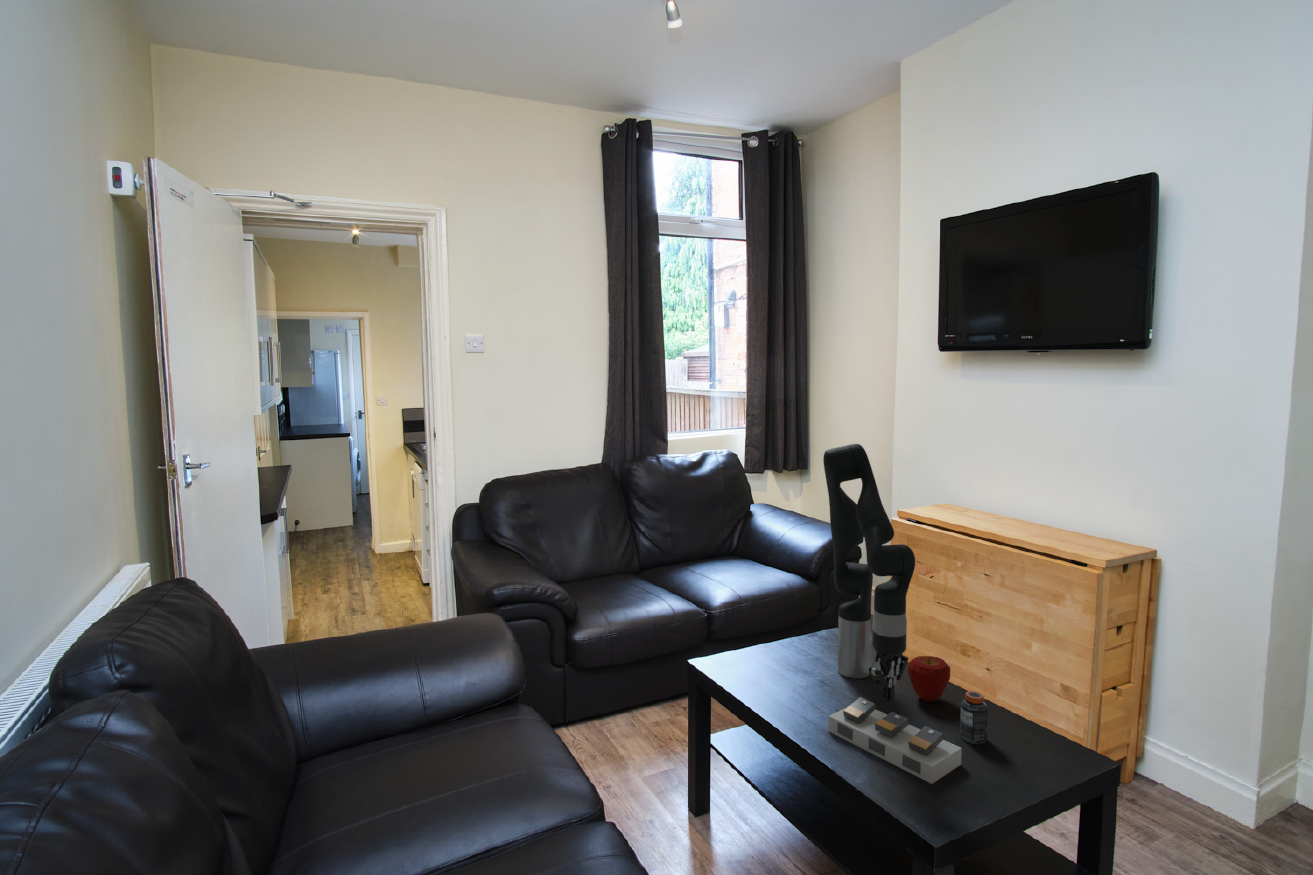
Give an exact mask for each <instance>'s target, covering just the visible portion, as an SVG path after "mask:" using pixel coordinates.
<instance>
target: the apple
mask: <svg viewBox="0 0 1313 875" xmlns="http://www.w3.org/2000/svg"><path fill="white" fill-rule="evenodd" d="M907 665H908V667H907V675H908V677H909V679H910V683H911V686H912V687H913V690H914V692H915V694H916V695H917V696H918V697H919V698H920V699H921V700H923V701H924V702H927V703H934V702H936V701H937V700H940V698H941V697H942V696H943V694H944V692H945V690H946V688H947V686H948V683H949V681H950V679H951V667H950V665H949V664H948V663H947V662H946V660H944V659H942V658H940V657H939V656H931V655H920V656H916V657H913V658H912V659H911V660H910V661H909V662H908V664H907Z"/></svg>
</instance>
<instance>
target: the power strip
mask: <svg viewBox="0 0 1313 875" xmlns="http://www.w3.org/2000/svg"><path fill="white" fill-rule="evenodd" d="M846 708H847V707H844V708H842V709H841V710H839V709H837V710H836V711H835V712H834V713H832V714H830V715H828V732H829V733H831V734H833V735H835V736H836V737H838V738H841V739H842V740H845V741H847V742H849V743H851V744H853V745H855V746H856V747H858V748H861V749H862V750H864V751H866V752H868V753H871V754H872V755H874V756H876V757H878V758H880V759H882V760H884V761H886V762H888V763H890V764H892V765H894V766H896V767H898V768H899V769H902V770H904V771H905V772H908V773H910V774H911V775H913V776H915V777H917V778H919V779H921V780H924V781H925V782H927V783H929V784H931V785H933V784H934V783H936V782H937V781H940V779H942V778H943V777H945V776H946V775H948V774H949V773H951V772H952V771H954V770H955V769H956V768H958V767H960V766H962V747H961V746H958V745H955V744H953V743H951V742H949V741H948V740H943V741H942V742H941V743H940V744H939V745H938V746H937V747H936V748H935V749H934V750H933V751H932V752H931V753H930V754H929V755H928V756H925V755H923V754H921V753H919V752H917V751H914V750H912V749H910V748H909V744H908V742H909V740H910V739H912V738H913V737H914V736H915V735H916V734H917V733H918V732H919V731H920V730H921V729H920V728H918V727H916V726H914V725H911V724H909V725H908V726H907V727H905V728H904V729H902V730H901V731H900V732H898V733H897V734H896V735H894V736H893V737H892V738H891V737H889V736H887V735H885V734H883V733H881V732H878V731H876V730H875V723H876V722H878V721H879V720H880V719H882V718H884V717H885V716H887V715H888V713H885V712H882V711H880V710H878V709H875V710H874V711H873V712H872V713H871V714H870V715H869V716H867V717H866V718H865V719H864V720H863V721H862V722H860V723H859V724H858V723H856V722H854V721H852V720H850V719H847V718H845V717H844V714H843V711H844V710H845V709H846Z"/></svg>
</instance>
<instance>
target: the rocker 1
mask: <svg viewBox="0 0 1313 875" xmlns="http://www.w3.org/2000/svg"><path fill="white" fill-rule="evenodd" d="M845 708H846V709H845V710H844V711H843V714H844V717H845V718H847V719H850V720H852V721H854V722H856V723H858V724H859V723H860V722H862V721H863V720H864V719H865V718H866V717H867V716H869V715H870V714H871V713H872V712H873V711H874V710H875V709H876V703H874V702H872V701H870V700H868V699H866V698H863V697H861V696H859V697H858V698H857V699H856V700H854V702H852V703H851V704H850V705H848V706H847V707H845ZM876 710H877V709H876Z"/></svg>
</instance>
